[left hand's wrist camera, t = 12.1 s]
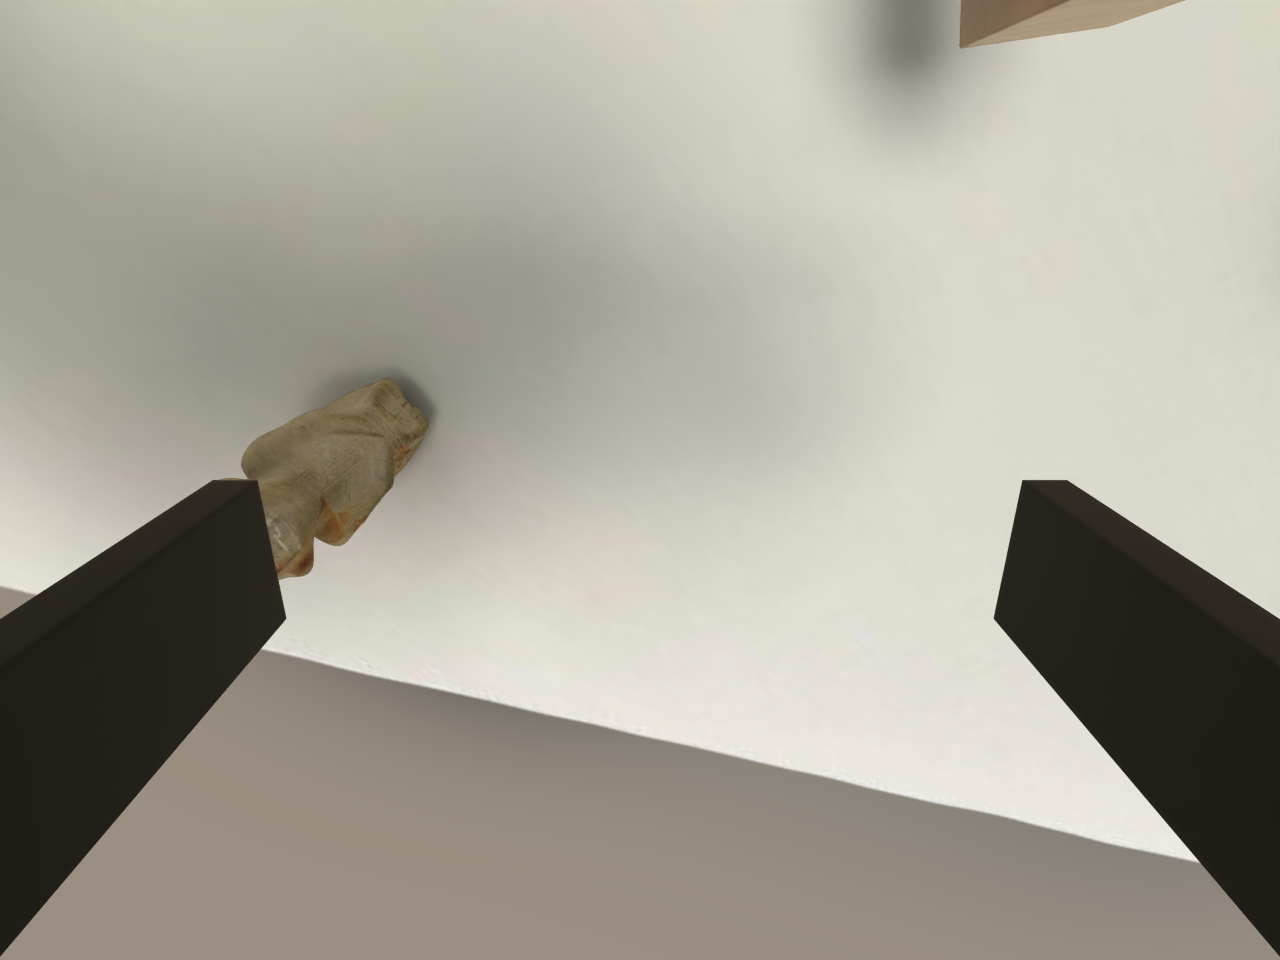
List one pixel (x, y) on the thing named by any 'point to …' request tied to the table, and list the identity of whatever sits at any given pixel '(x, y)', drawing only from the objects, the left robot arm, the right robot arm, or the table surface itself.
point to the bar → (1044, 17)
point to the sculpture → (331, 470)
